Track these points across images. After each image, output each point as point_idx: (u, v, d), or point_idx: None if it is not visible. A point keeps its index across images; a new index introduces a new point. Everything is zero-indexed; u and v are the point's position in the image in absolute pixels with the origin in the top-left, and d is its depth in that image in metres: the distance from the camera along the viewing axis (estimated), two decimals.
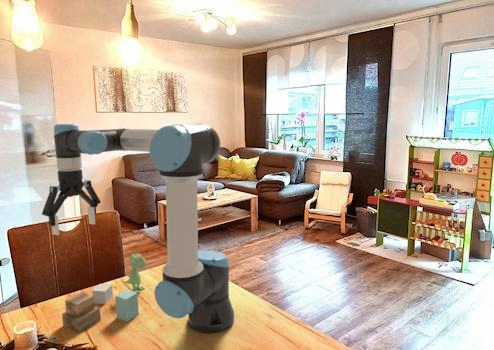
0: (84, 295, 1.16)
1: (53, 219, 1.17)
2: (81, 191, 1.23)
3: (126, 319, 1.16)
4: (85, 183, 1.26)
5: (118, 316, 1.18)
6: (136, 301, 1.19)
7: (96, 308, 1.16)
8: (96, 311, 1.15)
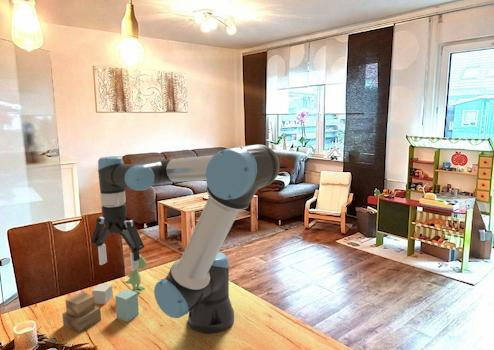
0: (84, 295, 1.16)
1: None
2: (118, 230, 1.13)
3: (126, 319, 1.16)
4: None
5: (118, 316, 1.18)
6: (136, 301, 1.19)
7: (96, 308, 1.16)
8: (96, 310, 1.15)
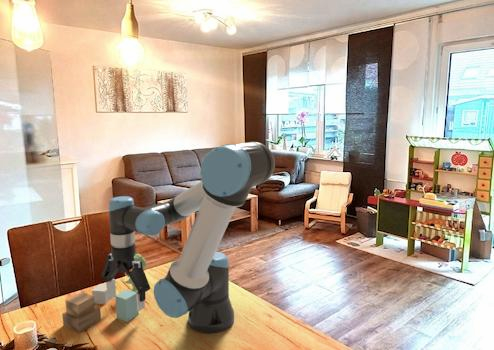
0: (84, 295, 1.16)
1: None
2: (125, 270, 1.14)
3: (126, 319, 1.16)
4: None
5: (118, 316, 1.18)
6: (136, 301, 1.19)
7: (96, 308, 1.16)
8: (96, 311, 1.15)
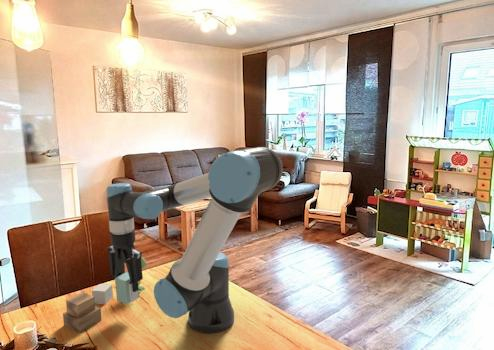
0: (85, 296, 1.15)
1: None
2: (124, 258, 1.13)
3: (126, 301, 1.15)
4: (134, 253, 1.13)
5: (118, 299, 1.17)
6: None
7: (97, 308, 1.16)
8: (96, 311, 1.15)
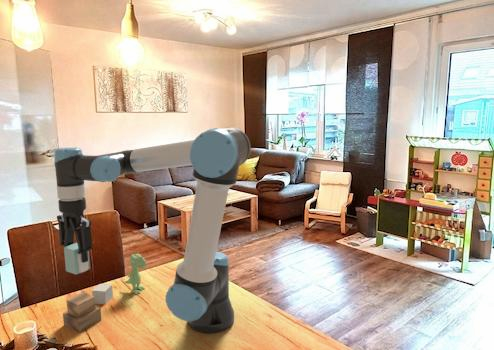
0: (85, 295, 1.16)
1: None
2: (72, 226, 1.08)
3: (75, 272, 1.09)
4: (82, 221, 1.07)
5: (67, 269, 1.11)
6: None
7: (97, 308, 1.16)
8: (96, 310, 1.15)
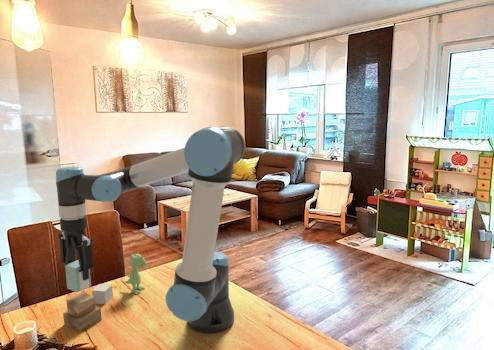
0: (85, 295, 1.16)
1: None
2: (74, 245, 1.09)
3: (76, 289, 1.10)
4: (84, 240, 1.08)
5: (68, 287, 1.12)
6: None
7: (97, 308, 1.17)
8: (96, 310, 1.15)
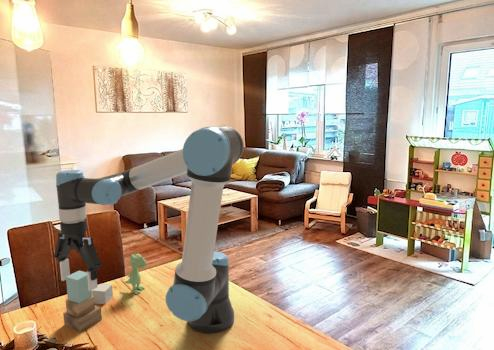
0: None
1: None
2: (75, 247, 1.08)
3: (78, 301, 1.11)
4: None
5: (69, 298, 1.12)
6: None
7: (97, 308, 1.17)
8: (97, 310, 1.15)
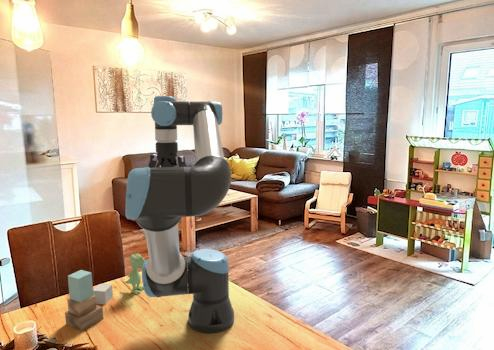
0: None
1: None
2: (169, 165, 1.22)
3: (79, 300, 1.12)
4: None
5: (71, 297, 1.13)
6: (91, 281, 1.15)
7: (99, 307, 1.17)
8: (98, 309, 1.16)
